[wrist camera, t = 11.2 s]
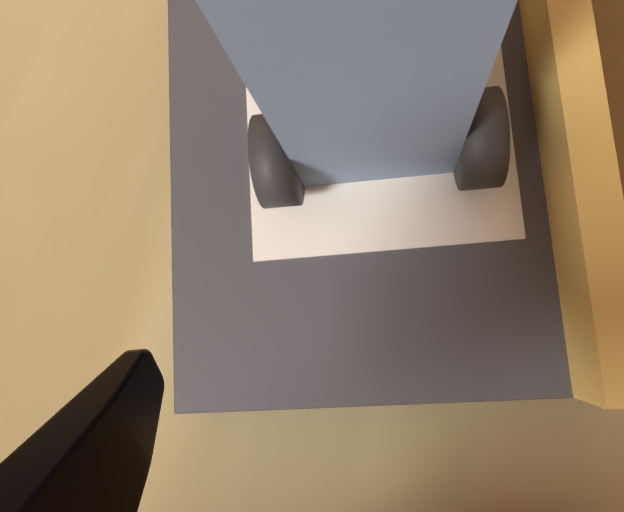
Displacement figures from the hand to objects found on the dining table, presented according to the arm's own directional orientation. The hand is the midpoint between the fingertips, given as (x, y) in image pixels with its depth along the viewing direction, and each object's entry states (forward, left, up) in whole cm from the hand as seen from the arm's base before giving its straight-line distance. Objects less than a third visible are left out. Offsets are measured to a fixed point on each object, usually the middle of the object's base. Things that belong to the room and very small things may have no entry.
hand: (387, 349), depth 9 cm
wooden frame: (+7, 0, -10) cm, 12 cm away
